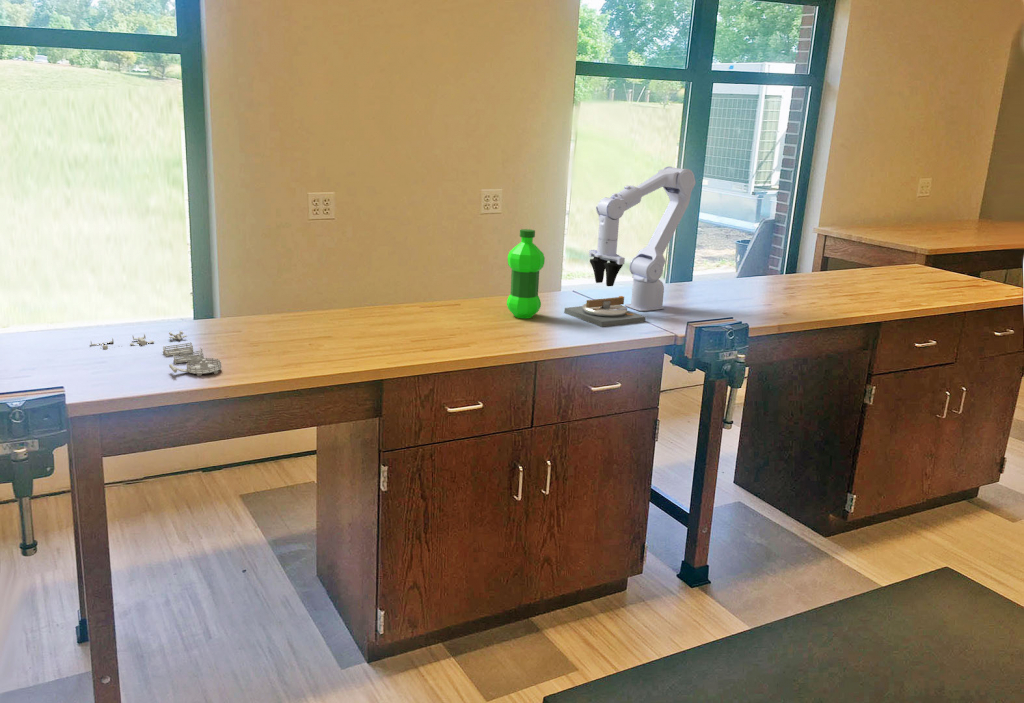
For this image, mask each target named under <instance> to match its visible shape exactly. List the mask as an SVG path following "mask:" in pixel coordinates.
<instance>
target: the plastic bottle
mask: <svg viewBox="0 0 1024 703" xmlns="http://www.w3.org/2000/svg"><path fill="white" fill-rule="evenodd" d="M519 237H520V238H521V242H519V243H517V244H516V246H514V247H512V249H511V250H510V251H509V252H508V254H507V264H508V266H509V268H510V270H511V277H510V279H511V280H510V294H508V297H507V300H506V307H507V310H509V312H510V313H511V314H512V315H513V316H514V317H515V318H518V319H531V318H533V316H534V315H536V314H537V313H538V312H539V311H540V309H541V307H542V301H541V299H540V297H539V287H540V271H541V270H542V269H543V268H544V265H545V256H544V253H543V252H542V250H540V248H539V247H538V246H537V245H536V244H534V242H533V241H534V238H535V237H536V230H535V229H530V228H529V229H528V228H526V229H523V228H521V229H519Z"/></svg>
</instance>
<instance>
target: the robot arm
mask: <svg viewBox="0 0 1024 703" xmlns="http://www.w3.org/2000/svg"><path fill="white" fill-rule="evenodd" d="M696 184H697V182H696V179H695V174H694V172H693V170H691V169H689V168H679V167H673V166H666V167H664V168H663V169H659V170H658V172H657V173H656V174H654V175H652V176H651V177H649V178H648V179H646V180H644V181H643V182H641V183H640V184H639V185H637V186H634V185H625V186H624V187H623V189H622V190H620V191H619V192H617V193H616V192H615V193H612V194H611V196H610V197H602V198H601V199H600V200H599V201H598V203H597V206H595V210H596V213H597V215H598V221H599V224H598V236H597V247H596V248H597V249H589V251H588V252H589V253H588V257H591V258H590V259H589V262H590V266H591V267H592V269H593V274H594V279H595V283H596V284H602V283H603V282H604V277H605V286H606V287H613V286H614V285H615V282H616V278H617V275H618V274H619V272H620V270H621V269H622V268H623V265H625V262H626V260H625V259H626V258H625V256H624V257H623V256H621V255H620V254H617V252H618V238H619V237H618V236H619V227H620V226H619V225H620V218H622V217H623V215H624V213H625V211H627V210H630V209H631V208H633V207H634V206H636V205H638V204H640V203H641V201H642V197H644V196H646V195H648V194H651V193H653V192H655V191H657V190H659V189H661V188H663V190H664V191H665V193H666V195H667V196H668V199H669V202H668V204H667V206H666V208H665V210H664V213H663V214H662V216H661V218H660V219H659V222H658V223H657V226H656V228H655V230H654V231H653V233H652V236H651V237H650V239H649V241H648V243H647V244H646V246H644V247H643V248H641V249H640V250H639V251H638V252H637V254H636V255H635V256H634V257H632V259H631V260H630V262H629V272H630V273H631V275H632V276H631V277H632V280H633V281H632V289H631V292H632V293H631V303H628V304H627V303H626V304H625V305H624V306H625V307H626V308H629V309H633V310H635V311H639V312H647V311H656V310H658V311H659V310H663V309H664V310H665V307H664V306H663V303H664V293H665V286H664V283H663V281H662V280H660V278H661V277H662V276H663V272H664V267H665V264H666V259H665V256H664V253H665V251H666V250H667V247H668V245H669V243H670V242H671V240H672V237H673V236H674V233H675V231H676V230H677V228H678V225H679V223H680V222H681V220H682V218H683V216H684V214H685V213H686V210H687V208H688V207H689V204H690V202H691V201H690V200H691V195H692V192H693V189H694V188H695V185H696Z"/></svg>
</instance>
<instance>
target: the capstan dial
mask: <svg viewBox="0 0 1024 703" xmlns="http://www.w3.org/2000/svg"><path fill="white" fill-rule="evenodd" d="M624 303H625V296H623V295H618V297H608V298H607V297H606V298H597V299H588V300H586V303H584V304H583V305H582V306H583V311H584V312H585V313H588V314H591V315H597V316H607V317H615V316H623V315H626V314H627V311H628V307H627V306H625V305H624Z"/></svg>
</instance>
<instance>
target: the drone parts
mask: <svg viewBox="0 0 1024 703" xmlns="http://www.w3.org/2000/svg"><path fill="white" fill-rule="evenodd" d="M183 334H184V332H183V331H182V330H179V333H176V334H173V333H172V331H170V332H169V331H168V335H169V339H170V340H171V339H172V340H179V341H180V340H182V339H185V338H187V335H186V334H184V335H183ZM134 336H135V335H132V340H133V341H136V344H140V346H141V345H146V346H147V344H146V343H151V344H152V343H155V340H150V341H147V340H146V334H145V333H143V336H142V337H140V336H139V337H134ZM111 338H112V339H111V340H112V341H111V340H110V341H107V342H101V343H102V344H103V346H102V345H101V343H92V341H90V346H91V345H92V347H93V345H97V344H100V345H99V346H101V347H103V348H104V350H108V347H109V346H108V344H107V345H104V343H108V342H109V343H112V344H113V343H115V342H114V338H113V337H111ZM129 344H130V346H135V345H134V344H135V343H132V342H129ZM97 346H98V345H97ZM103 348H102V349H103ZM162 350H163V351H162V353H163V354H164V356H165V357H166V356H167V357H170V356H172V357H173V359H172V360H173V363H174V364H175V365H177V364H181V363H186V369H184V368H180V367H177V366H176V367H175V366H174V365H173V364H172V363H171V364H169V365H168V366H169V368H170V370H172V371H173V372H174V373H175V374H176V373H177V372H178V371H179V372H182V373H183V372H184V373H190V374H195V375H196V376H197V377H199V376H200V377H201V376H202V375H203V374H211V373H213V374H214V375H216V374H219V371H220V370H221V369H222V368H223V367H222V361H221V360H220V359H218V358H214V357H211V358H209V357H205V356H204V353H203V348H202V347H199V350H194V346H193V343H192V342H188V343H179V344H173V345H168V346H167V345H166V346H162ZM179 355H180V356H179ZM204 357H205V358H204Z"/></svg>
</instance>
